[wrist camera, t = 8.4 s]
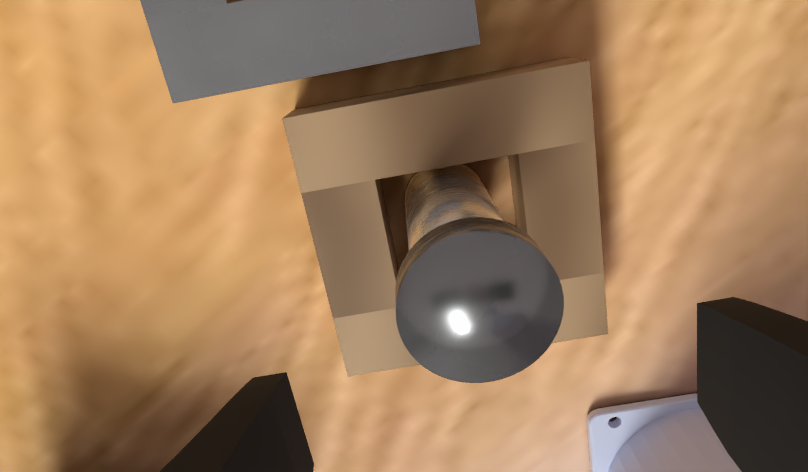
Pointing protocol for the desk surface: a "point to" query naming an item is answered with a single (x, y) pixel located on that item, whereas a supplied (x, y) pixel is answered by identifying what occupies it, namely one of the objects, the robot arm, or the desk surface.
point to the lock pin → (471, 283)
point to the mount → (295, 38)
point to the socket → (441, 147)
